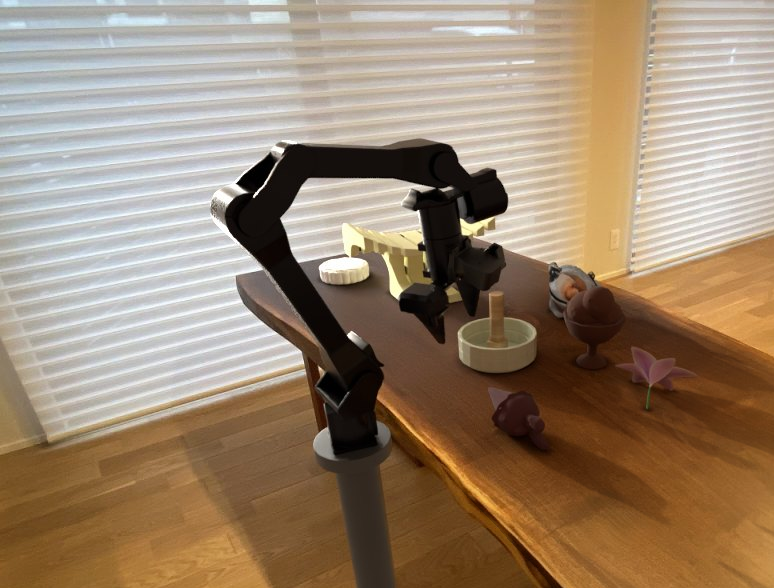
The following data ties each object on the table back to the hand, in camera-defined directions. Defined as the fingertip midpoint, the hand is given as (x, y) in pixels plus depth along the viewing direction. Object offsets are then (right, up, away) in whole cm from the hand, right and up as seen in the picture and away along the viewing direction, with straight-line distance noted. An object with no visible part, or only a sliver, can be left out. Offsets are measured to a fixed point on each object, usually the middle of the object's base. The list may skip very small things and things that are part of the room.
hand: (457, 329), depth 96 cm
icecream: (+9, -16, -2) cm, 18 cm away
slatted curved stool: (-12, +12, +48) cm, 51 cm away
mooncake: (-34, +18, +59) cm, 71 cm away
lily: (+32, -11, +6) cm, 34 cm away
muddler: (+6, -3, +19) cm, 20 cm away
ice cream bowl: (+23, -5, +17) cm, 29 cm away
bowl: (+6, -3, +20) cm, 21 cm away
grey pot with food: (+23, +6, +37) cm, 44 cm away
